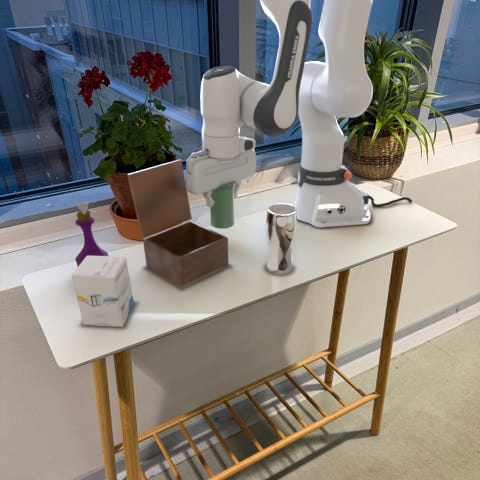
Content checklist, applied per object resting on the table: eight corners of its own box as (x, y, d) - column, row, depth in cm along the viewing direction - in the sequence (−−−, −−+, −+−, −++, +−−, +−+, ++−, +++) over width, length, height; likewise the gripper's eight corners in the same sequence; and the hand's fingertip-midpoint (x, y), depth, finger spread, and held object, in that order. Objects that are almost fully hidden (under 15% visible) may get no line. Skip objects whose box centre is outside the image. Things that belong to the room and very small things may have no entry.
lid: (181, 159, 113) (179, 159, 113) (129, 174, 105) (127, 174, 105) (191, 218, 119) (189, 218, 120) (143, 237, 111) (141, 236, 112)
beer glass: (292, 277, 113) (296, 216, 104) (262, 274, 114) (264, 214, 105) (295, 262, 118) (299, 204, 109) (267, 260, 119) (269, 202, 110)
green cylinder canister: (235, 218, 127) (235, 177, 121) (234, 229, 122) (234, 186, 115) (210, 218, 127) (209, 177, 121) (208, 229, 122) (206, 186, 115)
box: (228, 266, 117) (227, 237, 112) (181, 289, 109) (179, 258, 104) (192, 248, 124) (190, 220, 120) (146, 267, 116) (142, 238, 112)
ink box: (96, 301, 104) (86, 253, 98) (134, 303, 104) (127, 255, 97) (81, 325, 98) (69, 275, 91) (122, 328, 97) (113, 277, 90)
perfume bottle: (77, 270, 115) (61, 198, 105) (109, 264, 118) (96, 192, 107) (82, 285, 110) (65, 210, 99) (115, 278, 112) (102, 205, 102)
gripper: (195, 158, 105) (198, 217, 113) (260, 139, 117) (259, 195, 125) (177, 151, 109) (181, 209, 117) (242, 134, 121) (242, 188, 129)
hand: (222, 202), depth 121 cm, fingers closed on green cylinder canister, 6 cm apart
